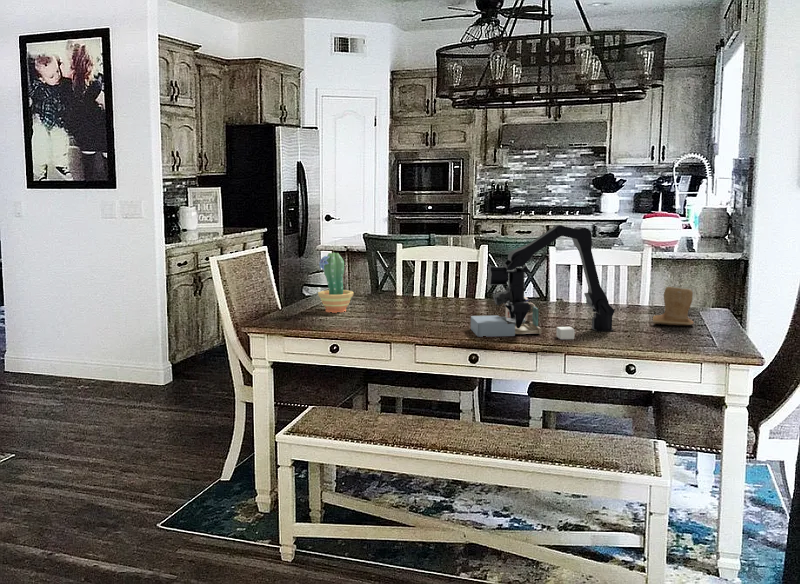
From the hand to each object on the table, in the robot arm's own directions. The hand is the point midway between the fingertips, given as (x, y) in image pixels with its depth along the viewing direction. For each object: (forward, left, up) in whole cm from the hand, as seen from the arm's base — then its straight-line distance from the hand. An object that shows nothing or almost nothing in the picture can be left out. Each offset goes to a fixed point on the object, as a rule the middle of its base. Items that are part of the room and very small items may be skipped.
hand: (515, 326), depth 290 cm
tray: (-1, 0, -2) cm, 2 cm away
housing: (+8, 0, -2) cm, 8 cm away
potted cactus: (+66, -52, -2) cm, 84 cm away
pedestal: (-15, +12, -2) cm, 19 cm away
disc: (0, 0, +1) cm, 1 cm away
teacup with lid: (-7, -22, -2) cm, 23 cm away
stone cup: (-64, -8, -2) cm, 65 cm away
